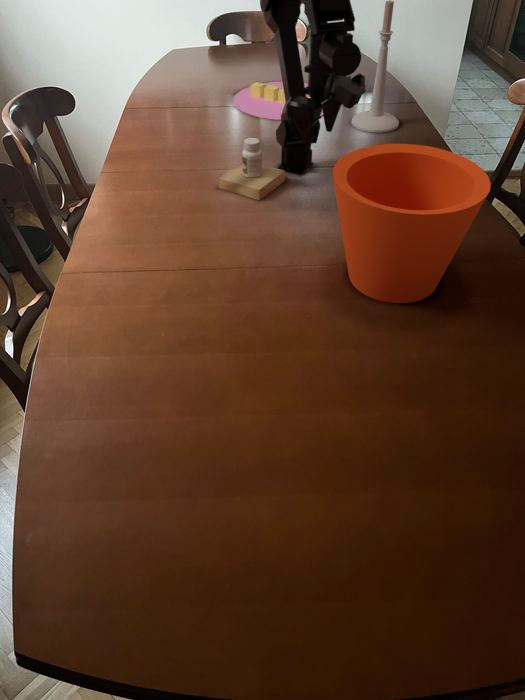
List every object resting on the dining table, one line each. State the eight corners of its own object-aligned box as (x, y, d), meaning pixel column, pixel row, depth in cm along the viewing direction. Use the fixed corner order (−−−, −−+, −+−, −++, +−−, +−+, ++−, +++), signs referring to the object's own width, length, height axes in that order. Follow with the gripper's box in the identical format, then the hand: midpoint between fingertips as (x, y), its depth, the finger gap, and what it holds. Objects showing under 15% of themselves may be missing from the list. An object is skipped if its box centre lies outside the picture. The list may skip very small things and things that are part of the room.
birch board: (218, 188, 135) (218, 177, 133) (245, 169, 142) (245, 159, 140) (259, 200, 130) (259, 189, 129) (284, 180, 137) (285, 170, 136)
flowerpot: (321, 239, 118) (328, 143, 105) (447, 241, 117) (470, 144, 104) (328, 318, 100) (337, 213, 86) (477, 320, 99) (510, 215, 86)
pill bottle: (242, 170, 136) (241, 137, 131) (261, 169, 136) (260, 136, 131) (243, 178, 133) (242, 145, 127) (262, 177, 133) (262, 144, 128)
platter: (307, 128, 160) (307, 116, 157) (211, 106, 173) (211, 94, 170) (358, 93, 180) (359, 81, 177) (269, 75, 192) (269, 64, 190)
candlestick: (403, 118, 165) (422, -4, 144) (391, 135, 156) (409, 7, 136) (359, 112, 169) (372, -9, 148) (345, 128, 160) (356, 2, 140)
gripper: (338, 81, 106) (332, 164, 116) (381, 54, 118) (372, 131, 128) (285, 70, 110) (283, 151, 121) (331, 46, 122) (326, 121, 132)
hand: (318, 138), depth 125 cm, fingers open, 9 cm apart
